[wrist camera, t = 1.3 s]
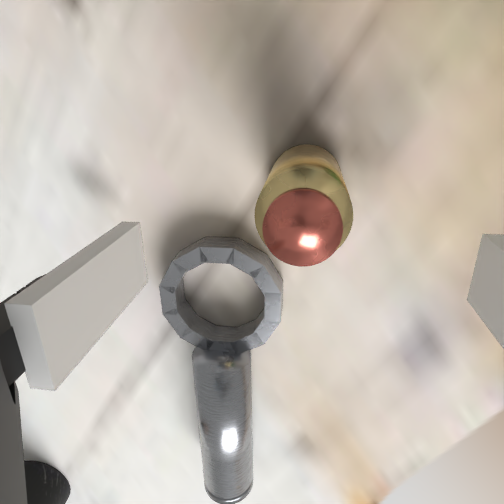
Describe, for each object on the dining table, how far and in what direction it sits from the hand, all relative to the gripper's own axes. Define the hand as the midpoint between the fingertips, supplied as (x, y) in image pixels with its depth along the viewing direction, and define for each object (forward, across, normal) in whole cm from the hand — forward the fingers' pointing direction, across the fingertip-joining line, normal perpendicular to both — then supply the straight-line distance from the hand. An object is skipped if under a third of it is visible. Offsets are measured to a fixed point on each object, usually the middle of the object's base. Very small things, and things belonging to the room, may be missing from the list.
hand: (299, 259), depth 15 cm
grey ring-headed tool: (+13, -6, -16) cm, 21 cm away
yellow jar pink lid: (+12, 0, 0) cm, 12 cm away
